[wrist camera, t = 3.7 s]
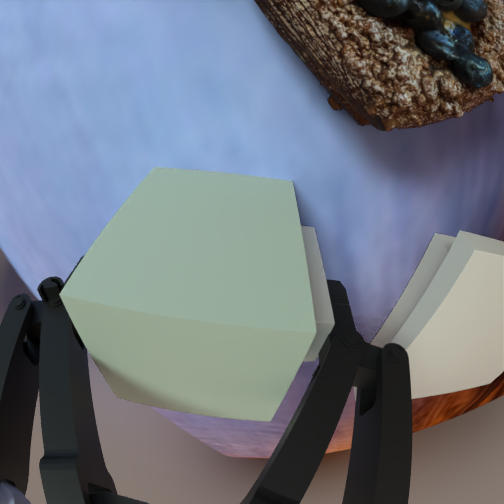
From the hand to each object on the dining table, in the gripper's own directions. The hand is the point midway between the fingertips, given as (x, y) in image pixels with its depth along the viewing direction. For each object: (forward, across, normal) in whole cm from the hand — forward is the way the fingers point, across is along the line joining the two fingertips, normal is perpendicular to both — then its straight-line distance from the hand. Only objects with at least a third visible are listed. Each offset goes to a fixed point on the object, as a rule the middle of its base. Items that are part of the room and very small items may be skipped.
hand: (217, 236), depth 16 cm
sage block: (0, 0, 0) cm, 0 cm away
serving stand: (0, +21, -4) cm, 21 cm away
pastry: (+1, +6, +14) cm, 15 cm away
